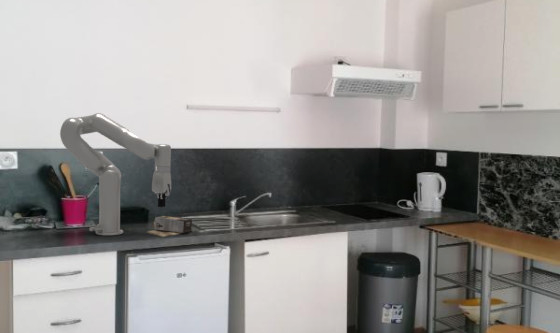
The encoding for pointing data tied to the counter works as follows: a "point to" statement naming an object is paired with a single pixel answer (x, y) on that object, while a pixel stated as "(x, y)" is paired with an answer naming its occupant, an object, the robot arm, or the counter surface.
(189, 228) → the coffee box
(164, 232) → the open book
